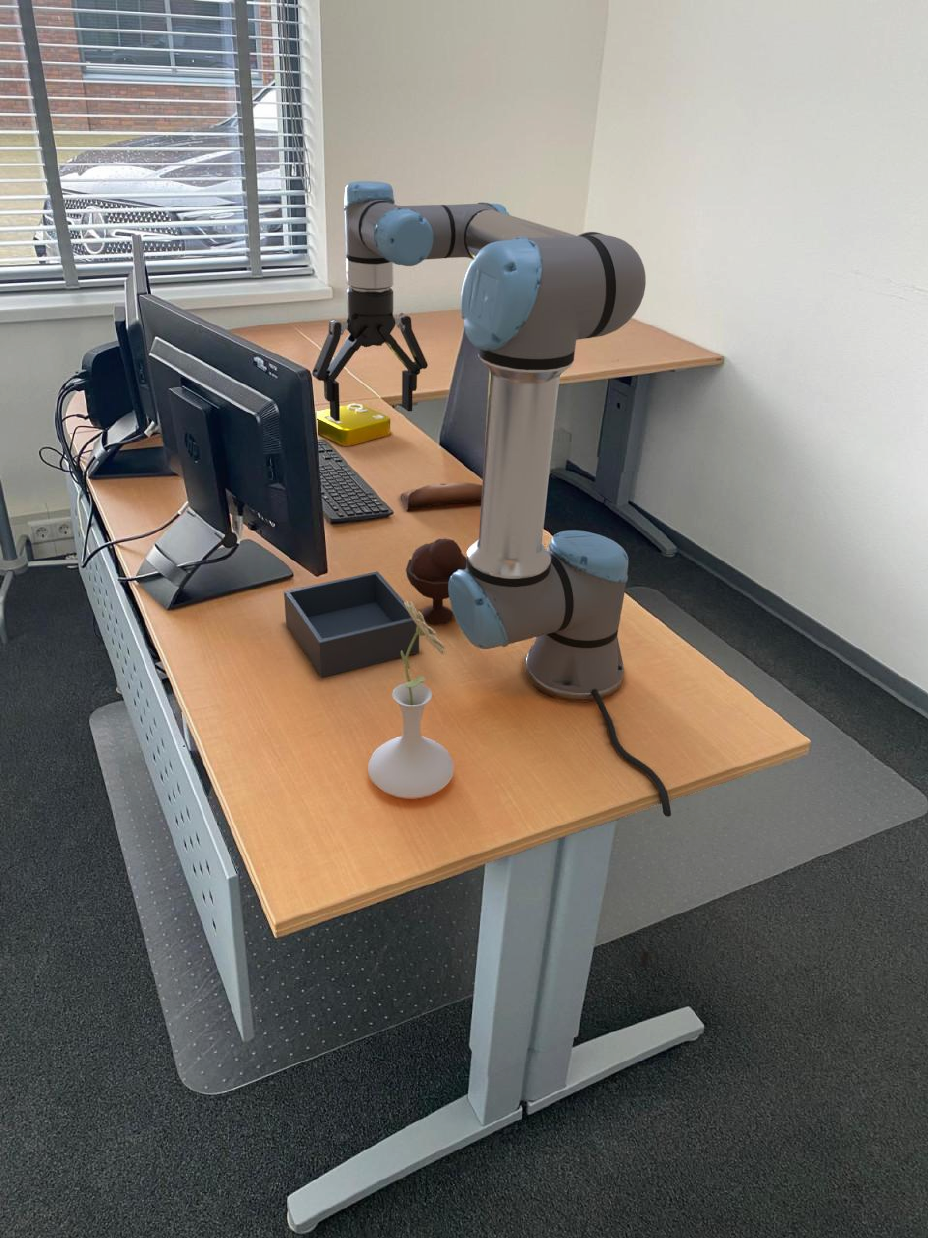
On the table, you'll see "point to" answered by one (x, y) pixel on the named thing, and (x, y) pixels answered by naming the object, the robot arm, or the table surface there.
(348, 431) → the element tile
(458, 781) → the table surface
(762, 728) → the table surface
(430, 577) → the ice cream bowl
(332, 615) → the open square box
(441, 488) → the sunglasses case
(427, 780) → the flower in vase
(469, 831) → the table surface
